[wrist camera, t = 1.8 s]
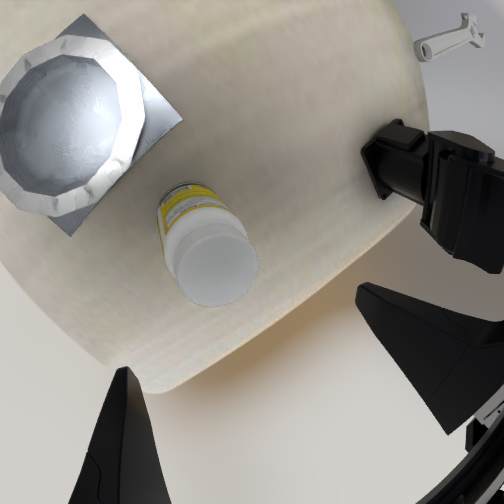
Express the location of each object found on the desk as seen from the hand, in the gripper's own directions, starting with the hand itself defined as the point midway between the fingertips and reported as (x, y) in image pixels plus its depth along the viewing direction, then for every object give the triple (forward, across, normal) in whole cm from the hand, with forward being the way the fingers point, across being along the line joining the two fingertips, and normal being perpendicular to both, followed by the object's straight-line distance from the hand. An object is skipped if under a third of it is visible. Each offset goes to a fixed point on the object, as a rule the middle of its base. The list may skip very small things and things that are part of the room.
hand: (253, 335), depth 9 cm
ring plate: (+13, +7, -9) cm, 17 cm away
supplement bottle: (+13, 0, 0) cm, 13 cm away
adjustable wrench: (+13, -36, -20) cm, 44 cm away
